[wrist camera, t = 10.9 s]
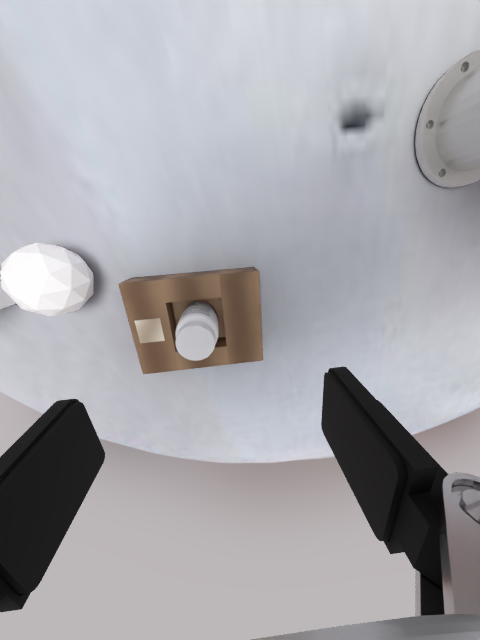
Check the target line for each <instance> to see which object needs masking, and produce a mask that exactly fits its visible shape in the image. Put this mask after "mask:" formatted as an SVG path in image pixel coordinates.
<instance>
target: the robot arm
mask: <svg viewBox="0 0 480 640" xmlns="http://www.w3.org/2000/svg"><path fill="white" fill-rule="evenodd" d="M415 146H416V156H417V159H418V163H419V166H420V168H421V170H422V171H423V173H424V175H425V176H426V177H427V178H428V179H429V180H430V181H431V182H433V183H435V184H436V185H439V186H442V187H450V188H454V187H459V186H464V185H468V184H471V183H474V182H476V181H478V180H480V50H478V51H476V52H473V53H471V54H469V55H468V56H466V57H465V58H463V59H462V60H460V61H459V62H458V63H456V64H455V65H454V66H453V67H451V68H450V69H449V70H448V71H447V72H446V73H445V74H444V75H443V76H442V77H441V78H440V79H439V80H438V82H437V83H436V84H435V86H434V87H433V89H432V90H431V92H430V93H429V95H428V97H427V99H426V101H425V103H424V105H423V108H422V111H421V114H420V117H419V120H418V125H417V130H416V141H415ZM321 424H322V430H323V433H324V435H325V437H326V439H327V441H328V443H329V445H330V447H331V449H332V451H333V453H334V455H335V457H336V459H337V461H338V463H339V465H340V467H341V469H342V471H343V473H344V475H345V477H346V478H347V481H348V483H349V485H350V487H351V489H352V491H353V493H354V495H355V497H356V499H357V501H358V503H359V505H360V507H361V508H362V511H363V513H364V515H365V517H366V519H367V521H368V523H369V524H370V526H371V528H372V530H373V532H374V534H375V536H376V537H377V539H379V541H384V543H385V545H386V546H387V548H388V550H389V552H390V554H394V553H401V552H405V553H406V555H407V557H408V559H409V561H410V562H411V564H412V566H413V568H415V569H416V617H409V618H400V619H392V620H384V621H376V622H368V623H360V624H352V625H344V626H338V627H332V628H325V629H318V630H311V631H305V632H299V633H292V634H286V635H279V636H273V637H266V638H259V639H252V640H480V477H477V476H474V475H471V474H467V473H457V472H456V473H452V474H447V473H446V472H445V470H443V468H442V467H441V466H440V465H439V464H438V463H437V462H436V461H435V460H434V459H433V458H432V457H431V456H430V455H429V453H428V452H427V451H426V450H425V449H424V448H423V447H422V446H421V445H420V444H419V443H418V442H417V441H416V440H415V439H414V437H413V436H412V435H411V434H410V433H409V432H408V431H407V430H406V429H405V428H404V427H403V426H402V425H401V424H400V423H399V422H398V420H397V419H396V418H395V417H394V416H393V415H392V414H391V413H390V412H389V411H388V410H387V409H386V408H385V407H384V406H383V404H382V403H380V402H379V401H378V400H376V399H375V398H374V397H373V396H372V395H371V394H370V392H369V391H368V390H367V389H366V388H365V387H364V386H363V385H362V384H361V383H360V382H359V381H358V380H357V378H356V377H355V376H354V375H353V374H352V373H351V372H350V371H349V370H348V369H347V368H346V367H337V368H330V369H329V371H328V373H325V375H324V390H323V406H322V423H321ZM104 458H105V452H104V449H103V447H102V445H101V443H100V440H99V438H98V436H97V434H96V431H95V429H94V427H93V425H92V422H91V420H90V418H89V416H88V413H87V411H86V409H85V407H84V405H83V403H81V402H79V400H77V399H69V400H60V401H57V402H56V403H54V404H53V405H52V406H51V407H50V408H49V409H48V410H47V411H46V412H45V413H44V414H43V415H42V416H41V417H40V418H39V419H38V420H37V421H36V422H35V423H34V424H33V425H32V426H31V427H30V428H29V429H28V430H27V431H26V432H25V433H24V434H23V435H22V436H21V437H20V438H19V439H18V440H17V441H16V442H15V443H14V444H13V445H12V446H11V447H10V448H9V449H8V450H7V451H6V452H5V453H4V454H3V455H2V456H1V457H0V612H6V611H12V610H19V609H22V608H23V606H24V604H25V602H26V600H27V598H28V597H29V595H30V593H31V592H32V591H33V590H35V588H36V587H37V586H38V585H39V583H40V581H41V580H42V578H43V576H44V574H45V572H46V570H47V568H48V566H49V564H50V563H51V561H52V559H53V557H54V555H55V553H56V551H57V549H58V547H59V545H60V544H61V542H62V540H63V538H64V536H65V534H66V532H67V530H68V528H69V527H70V525H71V523H72V521H73V519H74V517H75V515H76V513H77V511H78V509H79V508H80V506H81V504H82V502H83V500H84V498H85V496H86V494H87V492H88V491H89V488H90V487H91V485H92V483H93V481H94V479H95V477H96V475H97V473H98V472H99V470H100V467H101V466H102V464H103V462H104Z"/></svg>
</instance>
